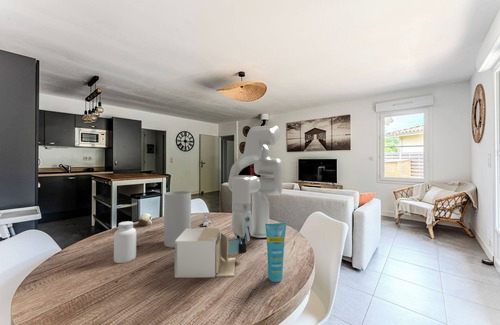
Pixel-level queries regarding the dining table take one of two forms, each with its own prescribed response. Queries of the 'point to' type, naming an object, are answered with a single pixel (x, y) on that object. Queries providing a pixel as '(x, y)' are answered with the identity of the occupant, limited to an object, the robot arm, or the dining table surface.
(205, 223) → the house of cards
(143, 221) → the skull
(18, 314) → the dining table surface
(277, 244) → the tube
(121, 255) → the pill bottle
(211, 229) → the carton
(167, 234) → the cylinder vase
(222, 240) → the door
